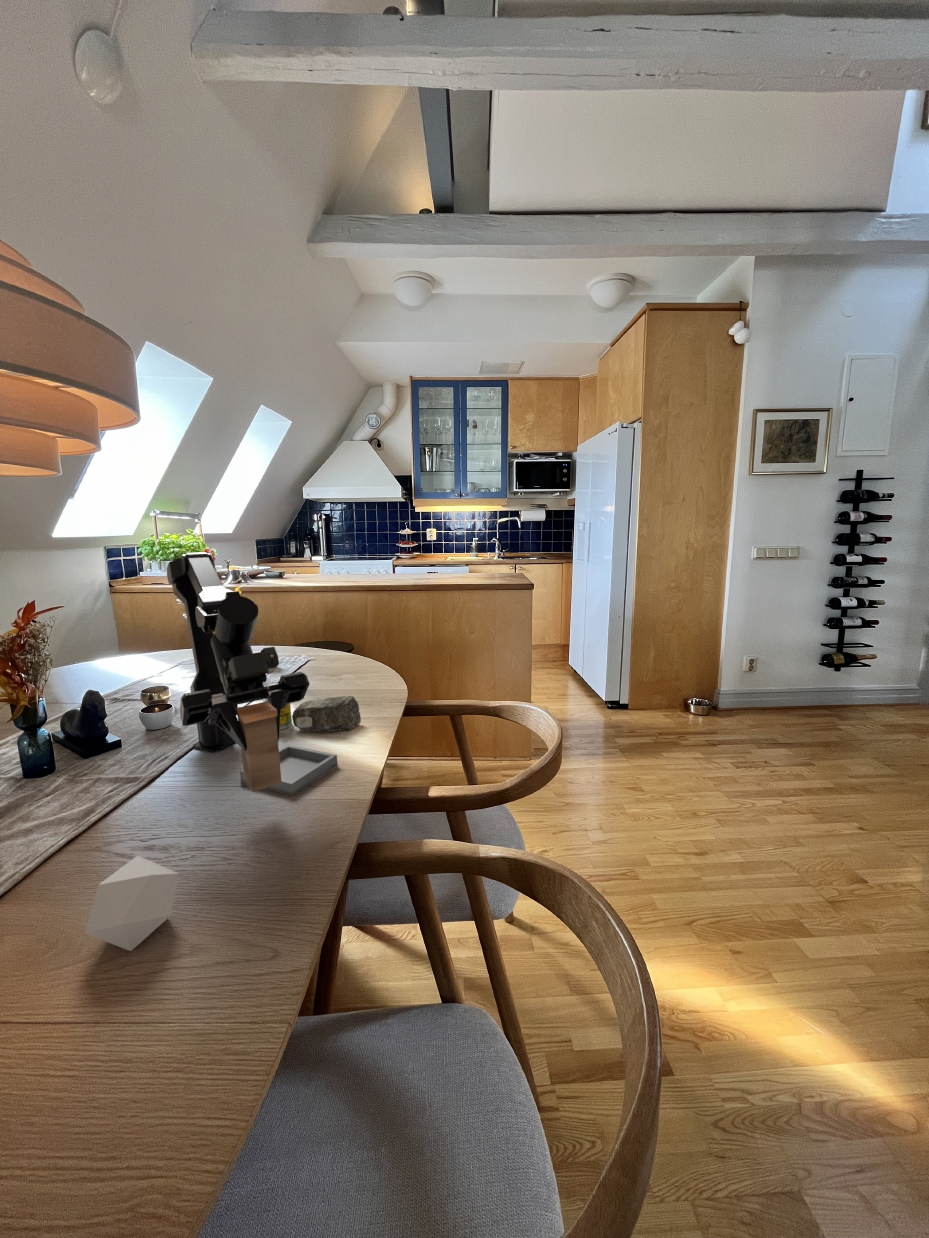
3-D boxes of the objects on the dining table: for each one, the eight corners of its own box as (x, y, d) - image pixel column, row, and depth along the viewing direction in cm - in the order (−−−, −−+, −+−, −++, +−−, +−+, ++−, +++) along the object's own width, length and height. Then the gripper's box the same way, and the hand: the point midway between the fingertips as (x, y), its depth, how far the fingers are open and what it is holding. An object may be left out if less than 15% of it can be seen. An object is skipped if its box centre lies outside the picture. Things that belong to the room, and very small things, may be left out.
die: (143, 902, 64) (77, 870, 59) (202, 867, 64) (141, 832, 59) (127, 972, 58) (50, 943, 52) (193, 933, 57) (123, 901, 52)
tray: (240, 782, 93) (239, 770, 92) (288, 754, 103) (288, 744, 103) (292, 795, 88) (291, 783, 87) (337, 765, 98) (336, 754, 98)
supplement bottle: (288, 719, 122) (285, 680, 120) (294, 726, 118) (291, 686, 116) (264, 724, 119) (261, 684, 117) (270, 732, 115) (266, 690, 113)
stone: (306, 757, 112) (282, 715, 111) (312, 748, 119) (289, 709, 118) (365, 724, 113) (342, 682, 112) (367, 717, 120) (345, 678, 120)
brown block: (242, 780, 82) (235, 708, 79) (273, 771, 84) (267, 701, 82) (251, 792, 78) (243, 717, 76) (283, 782, 81) (277, 709, 79)
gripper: (173, 641, 74) (198, 737, 68) (301, 624, 86) (332, 705, 79) (171, 681, 82) (192, 771, 75) (288, 660, 93) (316, 737, 87)
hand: (261, 744), depth 79 cm, fingers closed on brown block, 4 cm apart
